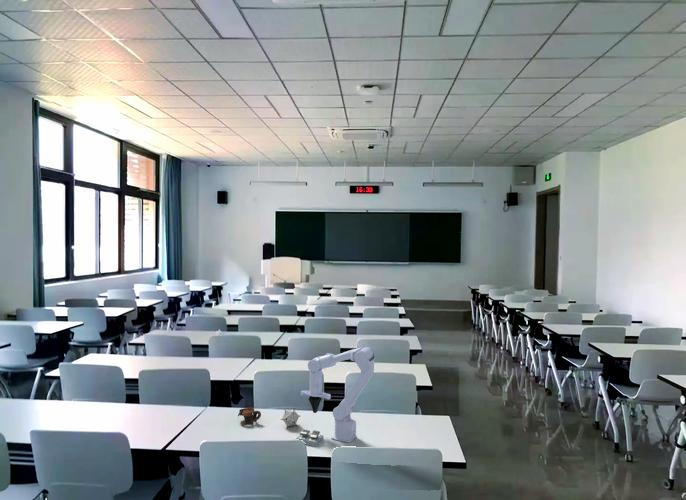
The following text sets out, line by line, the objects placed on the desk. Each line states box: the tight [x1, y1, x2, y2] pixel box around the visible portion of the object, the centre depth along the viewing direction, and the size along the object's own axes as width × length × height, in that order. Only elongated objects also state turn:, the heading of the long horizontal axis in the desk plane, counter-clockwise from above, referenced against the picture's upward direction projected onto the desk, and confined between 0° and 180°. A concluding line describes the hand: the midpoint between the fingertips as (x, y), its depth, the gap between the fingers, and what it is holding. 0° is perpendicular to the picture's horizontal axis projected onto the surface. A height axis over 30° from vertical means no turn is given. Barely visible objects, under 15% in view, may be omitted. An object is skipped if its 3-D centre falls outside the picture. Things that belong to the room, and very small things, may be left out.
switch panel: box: [295, 432, 324, 447], centre depth 216 cm, size 10×7×3 cm
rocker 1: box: [299, 429, 311, 436], centre depth 217 cm, size 3×4×1 cm
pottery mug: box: [237, 407, 262, 427], centre depth 237 cm, size 12×10×8 cm
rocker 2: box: [310, 430, 321, 439], centre depth 215 cm, size 3×4×1 cm
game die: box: [280, 407, 301, 429], centre depth 233 cm, size 9×8×10 cm
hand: (315, 412), depth 226 cm, fingers closed
